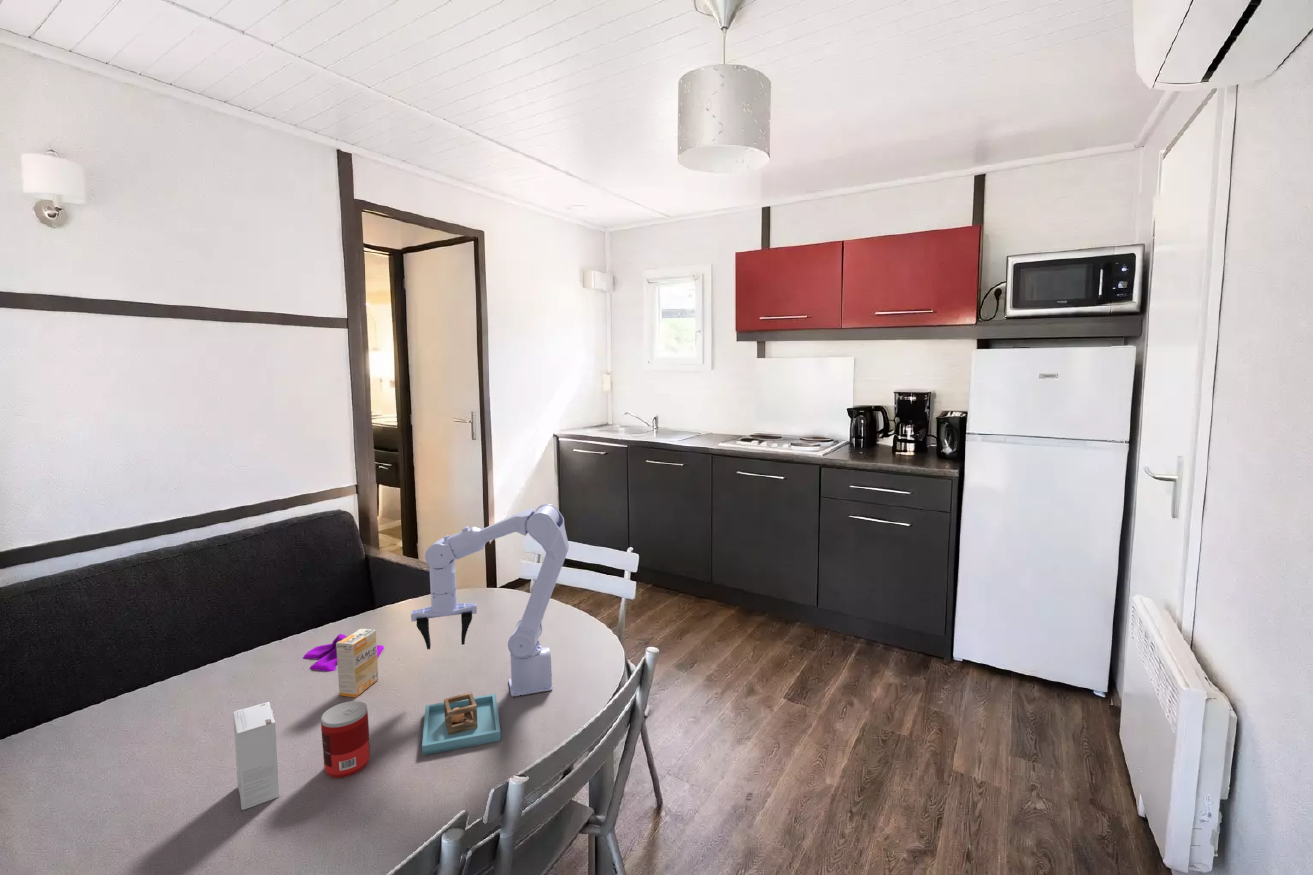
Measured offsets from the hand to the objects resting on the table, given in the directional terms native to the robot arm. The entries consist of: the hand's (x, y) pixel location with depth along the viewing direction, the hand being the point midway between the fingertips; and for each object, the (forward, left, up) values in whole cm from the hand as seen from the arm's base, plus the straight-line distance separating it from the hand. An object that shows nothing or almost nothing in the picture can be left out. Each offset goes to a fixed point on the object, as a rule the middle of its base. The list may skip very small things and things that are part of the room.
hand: (446, 645), depth 143 cm
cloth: (+27, -27, -11) cm, 40 cm away
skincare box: (+32, +27, -11) cm, 43 cm away
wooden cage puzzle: (-3, +18, -10) cm, 21 cm away
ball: (-2, +18, -8) cm, 20 cm away
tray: (-3, +18, -10) cm, 21 cm away
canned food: (+18, +24, -11) cm, 32 cm away
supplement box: (+20, -6, -11) cm, 23 cm away
